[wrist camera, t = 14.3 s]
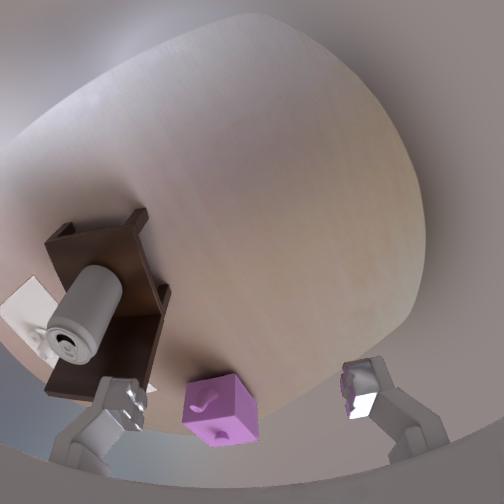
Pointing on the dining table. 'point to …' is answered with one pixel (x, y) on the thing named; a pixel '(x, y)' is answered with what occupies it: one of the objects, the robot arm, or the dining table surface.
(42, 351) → the teacup and saucer
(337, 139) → the dining table surface
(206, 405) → the teapot
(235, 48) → the dining table surface
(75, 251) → the wooden doll chair
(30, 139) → the dining table surface
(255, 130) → the dining table surface
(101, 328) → the beverage can
